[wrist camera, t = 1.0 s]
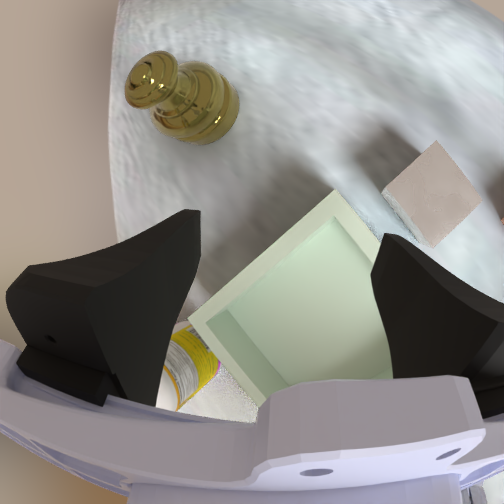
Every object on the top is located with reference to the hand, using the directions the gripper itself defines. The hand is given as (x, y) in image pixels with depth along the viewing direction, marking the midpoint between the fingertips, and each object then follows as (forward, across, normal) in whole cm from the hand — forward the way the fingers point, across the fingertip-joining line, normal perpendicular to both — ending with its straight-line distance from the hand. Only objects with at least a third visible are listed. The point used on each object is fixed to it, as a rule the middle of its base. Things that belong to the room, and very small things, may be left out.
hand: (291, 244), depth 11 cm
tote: (+8, -5, +12) cm, 15 cm away
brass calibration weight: (+20, +8, -2) cm, 21 cm away
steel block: (+11, -11, +1) cm, 16 cm away
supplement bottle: (+9, +6, +19) cm, 22 cm away
